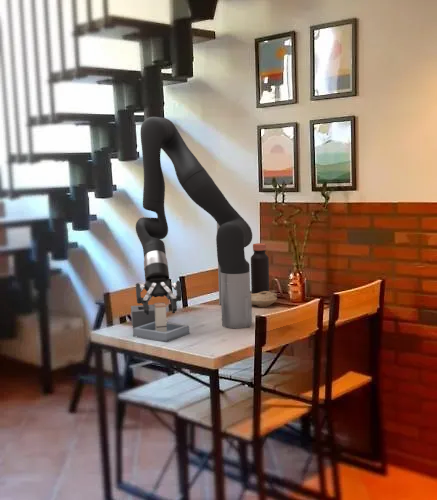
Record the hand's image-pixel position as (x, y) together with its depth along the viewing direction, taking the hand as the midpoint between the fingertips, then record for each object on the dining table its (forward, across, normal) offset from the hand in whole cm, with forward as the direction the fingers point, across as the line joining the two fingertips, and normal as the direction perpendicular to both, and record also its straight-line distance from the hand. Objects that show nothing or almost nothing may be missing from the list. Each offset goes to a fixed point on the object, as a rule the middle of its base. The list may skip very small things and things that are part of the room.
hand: (160, 312), depth 208 cm
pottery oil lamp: (-18, +38, +29) cm, 51 cm away
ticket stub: (+4, 0, +6) cm, 7 cm away
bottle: (-30, +42, +40) cm, 65 cm away
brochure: (-25, +29, +36) cm, 53 cm away
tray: (+4, 0, +6) cm, 7 cm away
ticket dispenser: (-6, -4, +17) cm, 18 cm away
